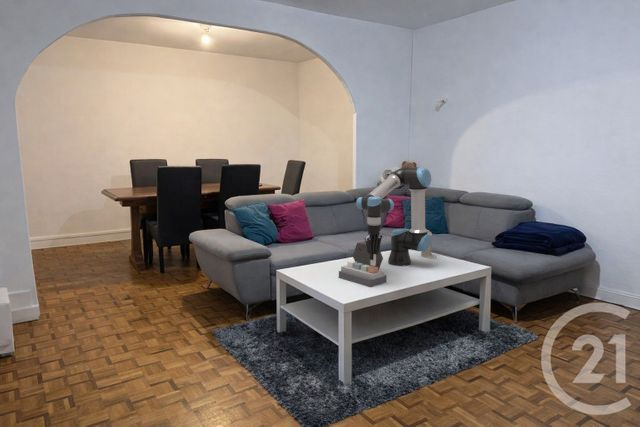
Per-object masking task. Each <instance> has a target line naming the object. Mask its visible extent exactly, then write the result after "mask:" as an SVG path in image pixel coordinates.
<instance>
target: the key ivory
mask: <svg viewBox="0 0 640 427" xmlns="http://www.w3.org/2000/svg"><path fill="white" fill-rule="evenodd" d="M356 263H357V262H355V261H354V260H350V261H347V264H346V265H347V267H351V268H354V264H356Z"/></svg>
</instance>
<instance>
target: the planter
mask: <svg viewBox="0 0 640 427" xmlns="http://www.w3.org/2000/svg"><path fill="white" fill-rule="evenodd" d="M377 253H378V254H376V265H375V267H378V270H379V271H380V268H381V265H382V263H383V260H384V257H383V255H382V252H381V250H379V252H377ZM352 258H353V261H355V262H357V263H362V264H364V265H369V266H373V265H370V261H371V260H370V254H369V253H367V246H366V241H365V240H364V241H360V242H356V245H355V248H354V251H353V254H352Z"/></svg>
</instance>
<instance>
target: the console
mask: <svg viewBox="0 0 640 427" xmlns="http://www.w3.org/2000/svg"><path fill="white" fill-rule="evenodd" d="M338 278H339V279H342V280H345V281H349V282H352V283H356V284H359V285H361V286H364V287H367V288H372V287H376V286H378V285H382V284H385V283H387V275H386V274H385V271H383V270H380V269H379V270H378V273H374V274H373V273H369V272H368V271H367V272H365V271H362V270H361V269H360V270H358V269H354V268H351V267H347V264H346V265H341V267H340V270H339V271H338Z"/></svg>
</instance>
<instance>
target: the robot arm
mask: <svg viewBox="0 0 640 427" xmlns="http://www.w3.org/2000/svg"><path fill="white" fill-rule="evenodd" d="M431 182H432V175H431V172H430V170H429V169H428V168H426V167H420V166H418V167H417V166H415V167H414V166H413V167H411V166H405V167H400V168H399V169H396V170H394V171H393V172H391V173H390V174H388V176H387V178H386V179H385V180H384V181H382V182H381V183H380V184H379V185H377V186H376V187H375V188H374V189H373V190H372V191H371V192H369V193H368V194H367V195H365V196H360V197H358V198H357V199H356V201H355V202H356V203H355V205H356V208H357V209H358V210H363V211H367V216H366V218H367V220H366V223H367V226H366V231H367V232H368V233H367V236H366V237H364V242H365V241H366V246H367V253H369V254H370V260H371V261H370V265H373V266H375V265H376V254H378V253H377V252H379V250H380V248H381V242H382V239H383V235H381V227H382V226H381V223H382V222H381V220H382V213H388V212H391V211H392V210H393V209H394V208H395V205H394V201H393V200H392V199H391V198H385V197H386V196H387V195H388V194H389V193H390V192H393V190H394V189H397V188H399V187H401V186H408V190H409V191H410V200H411V202H410V205H411V207H410V209H411V212H410V213H411V214H410V215H411V216H410V218H411V220H410V221H411V222H410V224H411V228H410V229H409V228H397V229H393V230H392V231H391V235H390V237H391V239H390V252H389V255H388V256H389V257H388V261H387V263H388V264H389V265H393V266H398V265H399V266H400V267H401V266H403V265H405V266H409V265H411V264H412V259H411V256H410V255H411V254H410V252H409V250H410V251H415V252H421V251H422V252H424V251H426V250H428V248H429V247H430V244H431V236H430V235H429V234H428V231H427V230H428V229H427V228H426V191H427V189H428V187H430V185H431ZM380 251H381V250H380Z"/></svg>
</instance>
